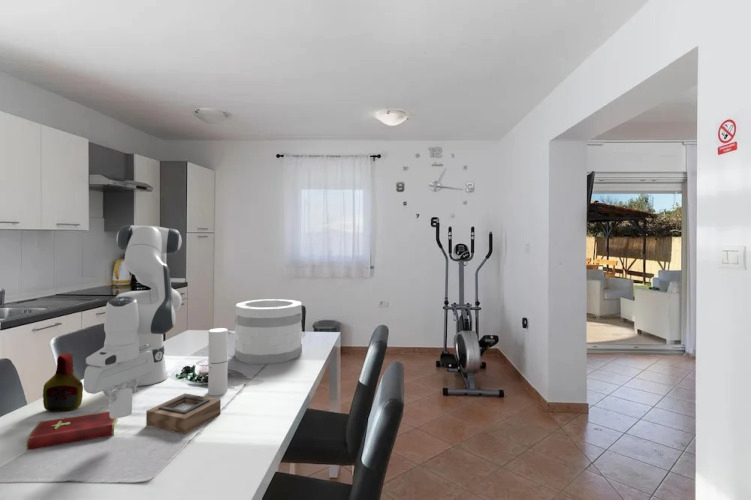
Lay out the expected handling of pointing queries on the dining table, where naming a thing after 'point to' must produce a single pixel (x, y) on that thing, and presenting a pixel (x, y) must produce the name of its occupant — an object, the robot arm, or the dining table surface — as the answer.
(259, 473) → the dining table surface
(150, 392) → the dining table surface
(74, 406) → the bottle
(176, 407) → the plate
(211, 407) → the socket block
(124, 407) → the eye dropper bottle
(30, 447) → the hardcover book
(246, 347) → the storage basket
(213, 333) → the cylindrical container
